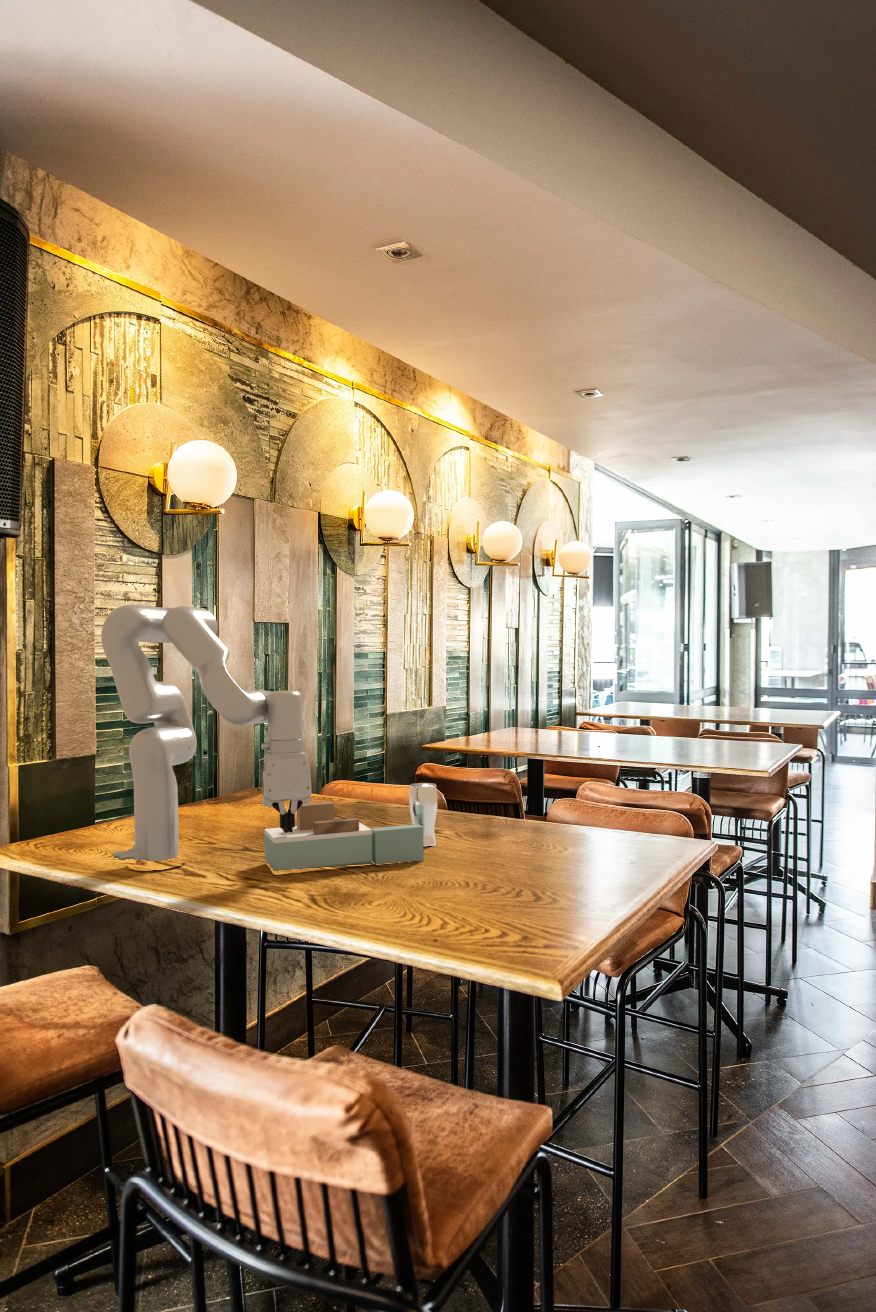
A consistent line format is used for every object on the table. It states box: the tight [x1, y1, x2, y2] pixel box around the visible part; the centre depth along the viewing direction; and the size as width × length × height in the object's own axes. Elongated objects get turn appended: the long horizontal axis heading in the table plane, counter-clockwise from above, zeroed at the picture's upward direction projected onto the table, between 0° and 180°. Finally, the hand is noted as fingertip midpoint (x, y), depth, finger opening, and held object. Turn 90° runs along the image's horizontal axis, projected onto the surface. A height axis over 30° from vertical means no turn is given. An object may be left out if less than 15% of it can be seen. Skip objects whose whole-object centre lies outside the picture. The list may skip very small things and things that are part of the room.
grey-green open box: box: [264, 824, 425, 871], centre depth 193 cm, size 34×13×8 cm, turn 111°
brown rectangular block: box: [313, 817, 360, 834], centre depth 188 cm, size 10×2×2 cm, turn 111°
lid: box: [263, 801, 372, 843], centre depth 191 cm, size 22×12×8 cm, turn 111°
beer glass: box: [409, 782, 438, 848], centre depth 210 cm, size 7×7×15 cm
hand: (287, 831), depth 184 cm, fingers closed
